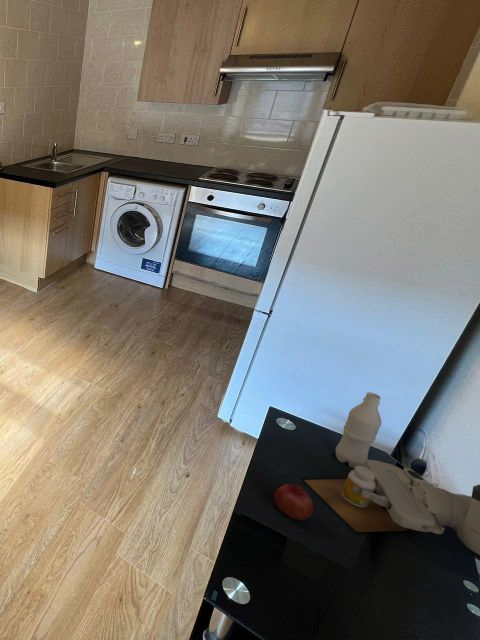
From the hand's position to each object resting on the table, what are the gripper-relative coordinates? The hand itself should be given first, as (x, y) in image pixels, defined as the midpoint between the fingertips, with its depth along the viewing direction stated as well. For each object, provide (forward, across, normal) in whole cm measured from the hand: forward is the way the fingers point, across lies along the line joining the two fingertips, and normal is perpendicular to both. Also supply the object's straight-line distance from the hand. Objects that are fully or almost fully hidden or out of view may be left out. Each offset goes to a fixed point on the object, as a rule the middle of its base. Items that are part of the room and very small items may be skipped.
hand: (356, 482), depth 110 cm
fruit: (+16, -11, -8) cm, 21 cm away
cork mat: (-1, 0, -8) cm, 8 cm away
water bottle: (-6, +20, -8) cm, 22 cm away
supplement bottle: (-1, 0, -6) cm, 6 cm away
